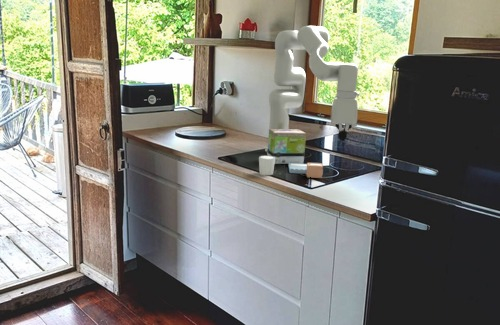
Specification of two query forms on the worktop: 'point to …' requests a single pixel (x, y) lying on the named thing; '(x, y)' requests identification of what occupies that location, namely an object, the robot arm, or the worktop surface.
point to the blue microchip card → (298, 168)
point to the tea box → (286, 145)
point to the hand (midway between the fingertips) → (342, 140)
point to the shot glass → (266, 165)
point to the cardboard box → (314, 170)
